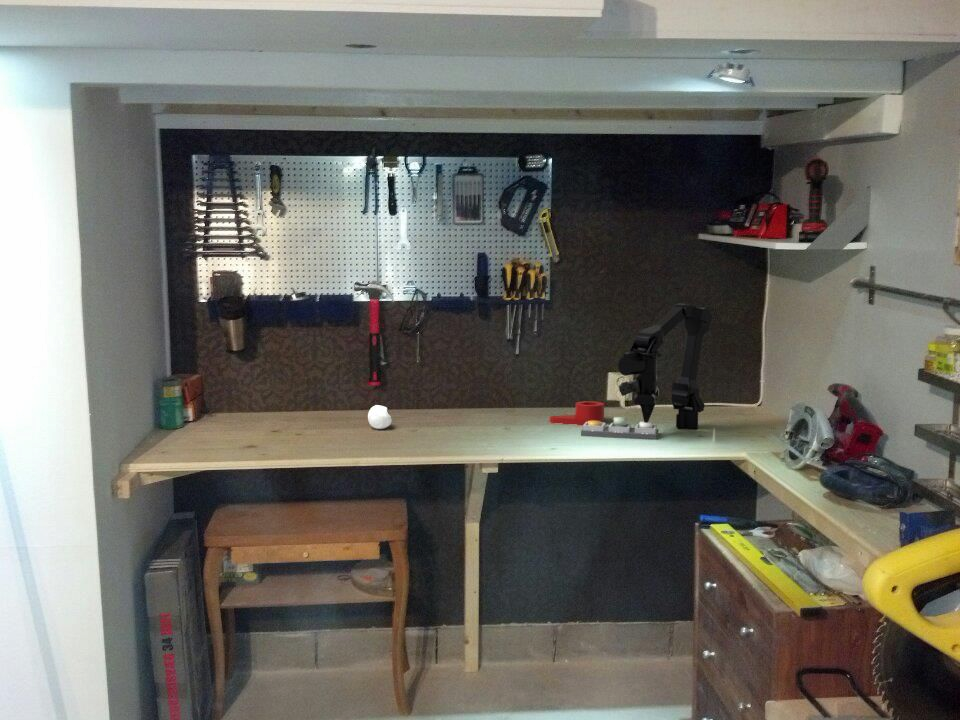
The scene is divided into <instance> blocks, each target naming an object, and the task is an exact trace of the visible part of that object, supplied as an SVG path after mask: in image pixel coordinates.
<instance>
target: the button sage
mask: <svg viewBox="0 0 960 720" xmlns="http://www.w3.org/2000/svg"><path fill="white" fill-rule="evenodd" d="M627 419H628V418H627V417H626V416H614V417H613V423H614V425H619V426H623V425H626V424H628V423H627V421H628V420H627Z"/></svg>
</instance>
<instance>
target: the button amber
mask: <svg viewBox="0 0 960 720" xmlns="http://www.w3.org/2000/svg"><path fill="white" fill-rule="evenodd" d="M588 425H593V426H601V421H596V420H591V421H588Z"/></svg>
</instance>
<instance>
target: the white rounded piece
mask: <svg viewBox="0 0 960 720" xmlns="http://www.w3.org/2000/svg"><path fill="white" fill-rule="evenodd" d="M367 421H368V423H369V425H370V426H371V427H372V428H373V429H377V430H385V429H386V428H388V427H390V425H391V423H392V416H391V415H390V414H389V412H388V407H387V406H384V405H379V404H375V405H374V406H372V407H371V408H370V409H369V411H368V412H367Z"/></svg>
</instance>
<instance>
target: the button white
mask: <svg viewBox="0 0 960 720" xmlns="http://www.w3.org/2000/svg"><path fill="white" fill-rule="evenodd" d="M638 424H639V428H653V425H654V422H652V421H650V420H649V421H648V423H645V422H644V420H642V421H639V423H638Z"/></svg>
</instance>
